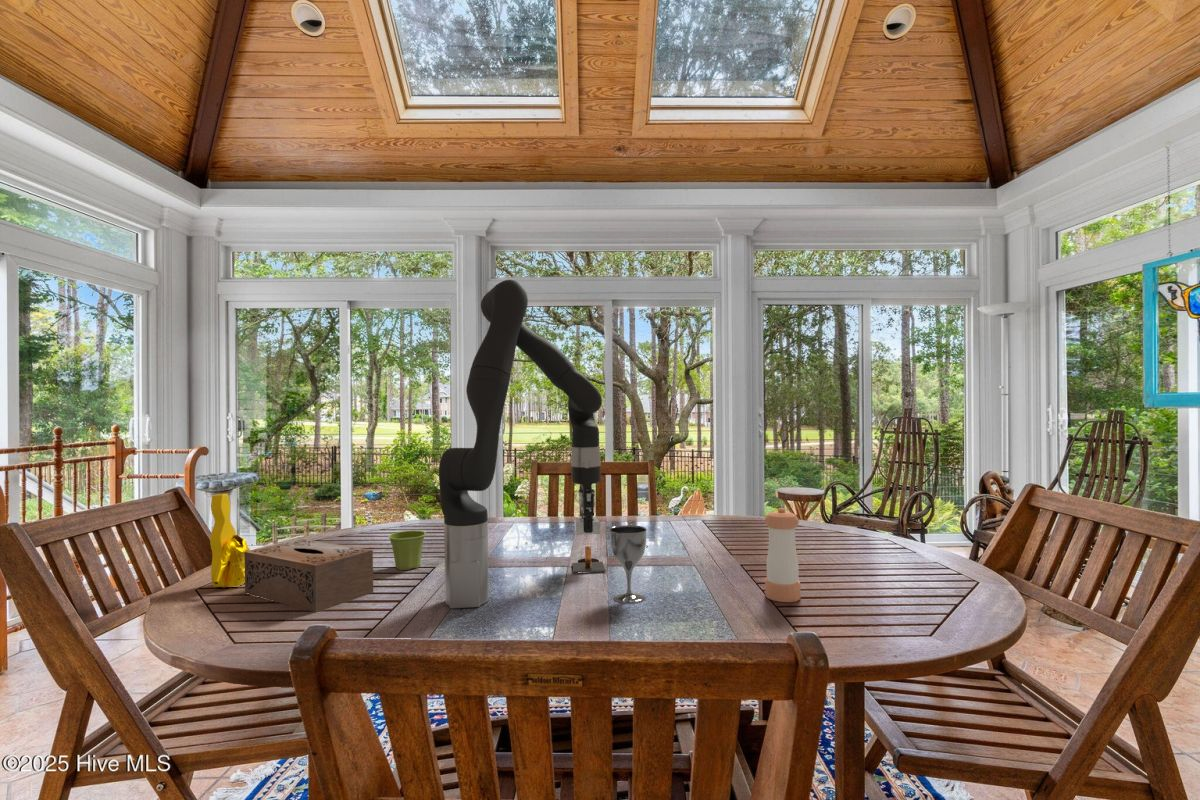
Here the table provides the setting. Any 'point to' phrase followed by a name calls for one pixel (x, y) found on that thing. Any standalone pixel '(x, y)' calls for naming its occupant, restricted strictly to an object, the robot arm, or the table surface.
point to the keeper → (588, 564)
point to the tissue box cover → (309, 573)
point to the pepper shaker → (782, 557)
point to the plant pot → (407, 548)
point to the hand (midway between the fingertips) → (587, 529)
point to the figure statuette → (226, 546)
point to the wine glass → (628, 556)
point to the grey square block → (580, 526)
